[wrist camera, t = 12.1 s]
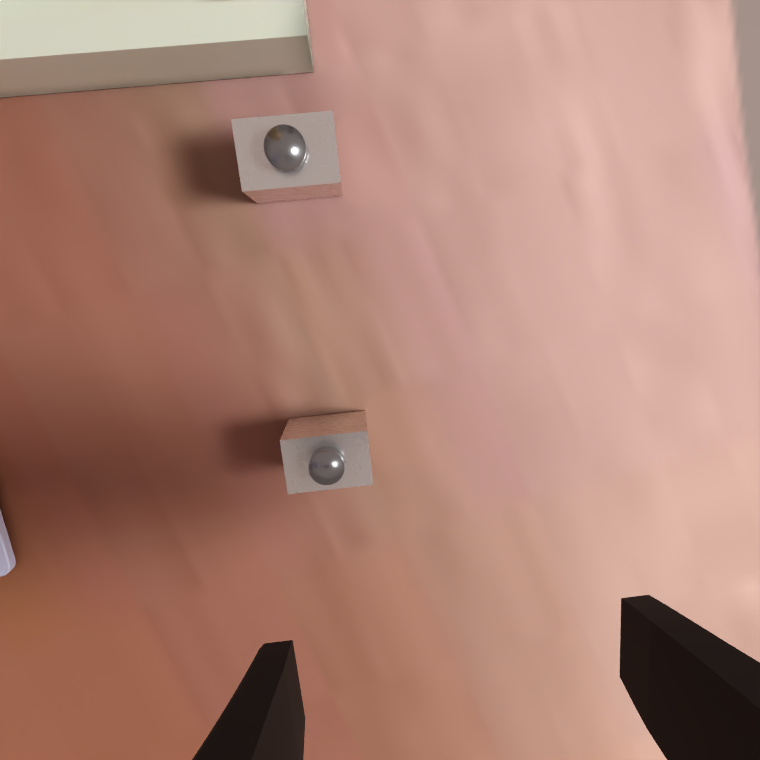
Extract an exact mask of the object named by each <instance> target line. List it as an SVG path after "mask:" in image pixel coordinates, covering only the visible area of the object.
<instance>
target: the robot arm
mask: <svg viewBox="0 0 760 760" xmlns="http://www.w3.org/2000/svg"><path fill="white" fill-rule="evenodd" d="M15 564H16V560H15V556H14V553H13V550H12V546H11V543H10V540H9V536H8V533H7V530H6V527H5V523H4V520H3V517H2V513H1V510H0V577H1V576H4V575H6V574H7V573H9V572H10V571H11V570H12V569H13V568H14V567H15ZM620 678H621V680H622V682H623V684H624V686H625V688H626V690H627V692H628V694H629V696H630V698H631V699H632V701H633V703H634V705H635V707H636V709H637V711H638V713H639V715H640V716H641V718H642V720H643V722H644V724H645V726H646V728H647V729H648V731H649V732H650V734H651V735H652V737H653V739H654V740H655V742H656V743H657V745H658V746H659V748H660V749H661V751H662V752H663V754H664V755H665V757H666V758H667V760H760V663H759V662H758V661H756V660H754V659H753V658H751V657H749V656H748V655H746V654H745V653H743V652H741V651H740V650H738V649H736V648H735V647H733V646H731V645H730V644H728V643H726V642H725V641H723V640H722V639H720V638H718V637H717V636H715V635H714V634H712V633H710V632H709V631H707V630H706V629H704V628H702V627H701V626H699V625H697V624H696V623H694V622H693V621H691V620H689V619H688V618H686V617H685V616H683V615H681V614H680V613H678V612H677V611H675V610H673V609H672V608H670V607H668V606H667V605H665V604H663V603H662V602H660V601H658V600H657V599H655V598H653V597H651V596H650V595H644V596H636V597H628V598H621V642H620ZM304 732H305V714H304V708H303V702H302V696H301V690H300V683H299V677H298V671H297V665H296V659H295V652H294V646H293V640H290V641H282V642H274V643H266V644H263V646H262V647H261V648H260V649H259V651H258V653H257V655H256V656H255V658H254V660H253V662H252V664H251V665H250V667H249V669H248V671H247V673H246V674H245V676H244V678H243V680H242V681H241V683H240V685H239V686H238V688H237V690H236V691H235V693H234V695H233V697H232V698H231V700H230V702H229V703H228V705H227V707H226V708H225V710H224V711H223V713H222V714H221V716H220V718H219V719H218V721H217V722H216V724H215V726H214V727H213V729H212V730H211V732H210V734H209V735H208V737H207V738H206V740H205V741H204V743H203V744H202V746H201V747H200V749H199V750H198V752H197V753H196V755H195V756H194V758H193V759H192V760H303V753H304Z"/></svg>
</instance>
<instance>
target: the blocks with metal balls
mask: <svg viewBox="0 0 760 760" xmlns="http://www.w3.org/2000/svg"><path fill="white" fill-rule="evenodd" d="M231 123H232V129H233V136H234V142H235V149H236V156H237V162H238V169H239V175H240V182H241V189H242V192H243V193H245V194H246V195H247V196H248V197H250V198H251V199H252V200H254V201H255V202H256V203H258V204H260V203H271V202H282V201H293V200H304V199H315V198H326V197H336V196H342V189H341V180H340V170H339V161H338V152H337V142H336V133H335V124H334V115H333V111H322V112H311V113H299V114H287V115H275V116H264V117H252V118H240V119H231ZM280 446H281V452H282V459H283V466H284V472H285V479H286V485H287V492H288V494H295V493H304V492H312V491H321V490H330V489H338V488H347V487H356V486H364V485H373V479H372V469H371V460H370V450H369V441H368V432H367V422H366V413H365V410H364V411H355V412H346V413H336V414H327V415H318V416H309V417H300V418H291V419H289V420H288V422H287V425H286V427H285V429H284V432H283V434H282V436H281V439H280Z"/></svg>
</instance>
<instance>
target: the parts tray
mask: <svg viewBox="0 0 760 760" xmlns="http://www.w3.org/2000/svg"><path fill="white" fill-rule="evenodd" d="M308 72H314V67H313V58H312V50H311V41H310V32H309V23H308V14H307V5H306V0H0V98H3V97H15V96H28V95H40V94H52V93H64V92H76V91H89V90H101V89H113V88H125V87H137V86H150V85H162V84H174V83H186V82H198V81H211V80H223V79H235V78H247V77H260V76H272V75H284V74H296V73H308Z"/></svg>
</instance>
